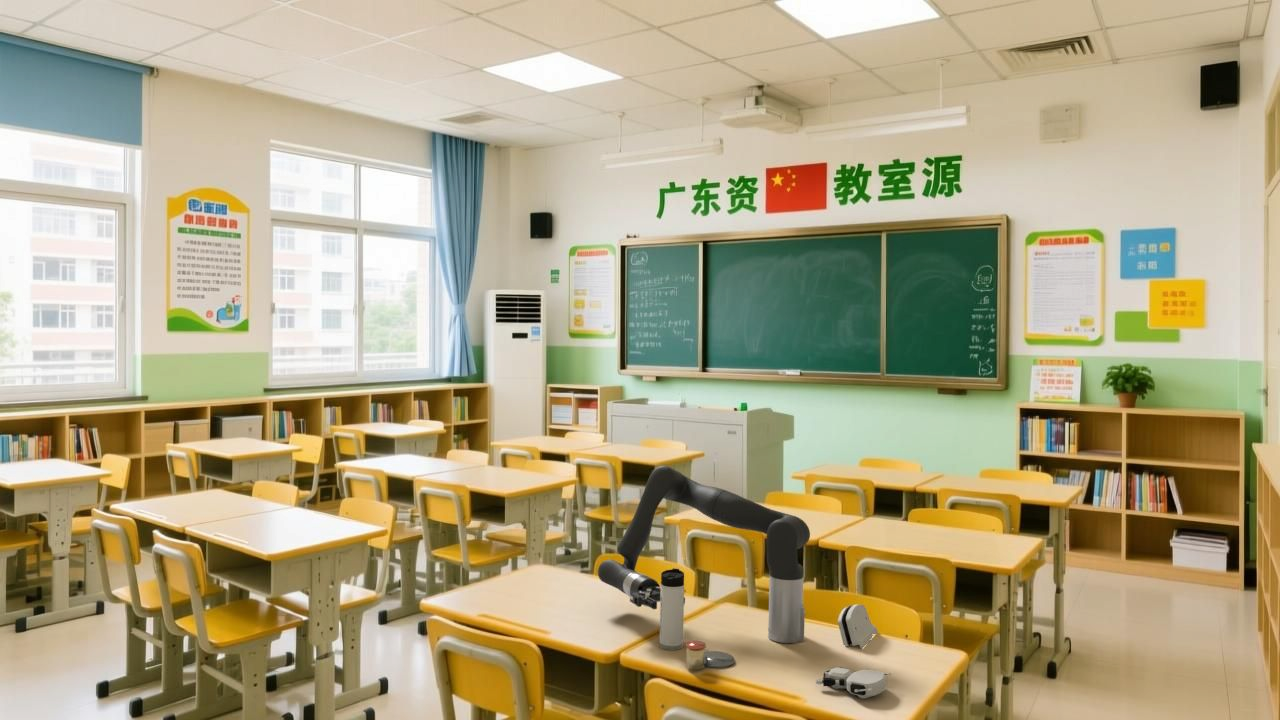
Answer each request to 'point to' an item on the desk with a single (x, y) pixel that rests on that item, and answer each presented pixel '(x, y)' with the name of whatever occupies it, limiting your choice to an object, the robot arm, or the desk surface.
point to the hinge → (855, 626)
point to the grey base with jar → (706, 656)
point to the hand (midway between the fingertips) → (669, 603)
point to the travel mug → (672, 609)
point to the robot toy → (855, 681)
